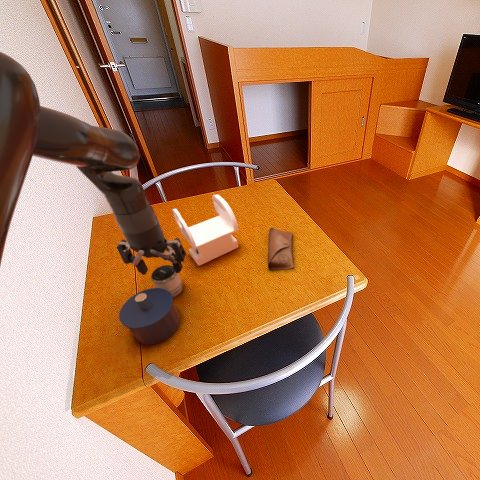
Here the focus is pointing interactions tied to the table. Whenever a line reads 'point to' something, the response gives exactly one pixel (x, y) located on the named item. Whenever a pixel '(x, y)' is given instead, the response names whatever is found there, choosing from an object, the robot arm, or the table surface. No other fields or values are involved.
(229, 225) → the tape dispenser
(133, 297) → the pot lid
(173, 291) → the camera lens
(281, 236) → the sunglasses case
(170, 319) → the pot
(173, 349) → the table surface
